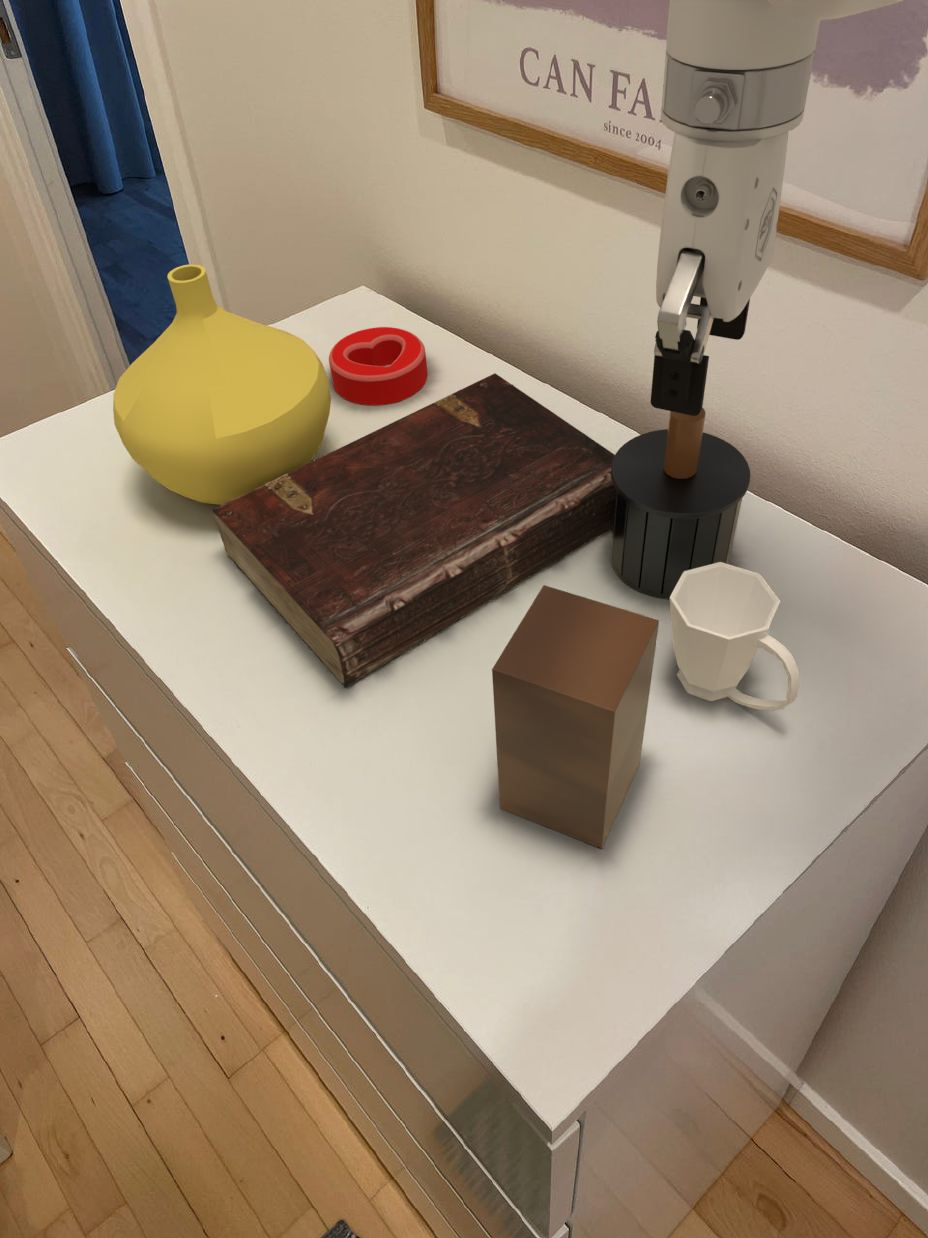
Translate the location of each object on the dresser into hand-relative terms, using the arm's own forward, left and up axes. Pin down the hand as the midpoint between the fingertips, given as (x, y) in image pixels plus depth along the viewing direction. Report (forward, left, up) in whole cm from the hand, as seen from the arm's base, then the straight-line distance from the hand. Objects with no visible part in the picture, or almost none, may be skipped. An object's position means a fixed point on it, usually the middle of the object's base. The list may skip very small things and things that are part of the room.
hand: (698, 370), depth 63 cm
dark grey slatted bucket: (0, 0, -18) cm, 18 cm away
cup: (-7, +11, -18) cm, 22 cm away
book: (+19, +5, -18) cm, 27 cm away
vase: (+40, +4, -18) cm, 43 cm away
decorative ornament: (+35, -14, -18) cm, 42 cm away
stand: (-1, +23, -18) cm, 29 cm away
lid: (0, 0, -9) cm, 9 cm away
